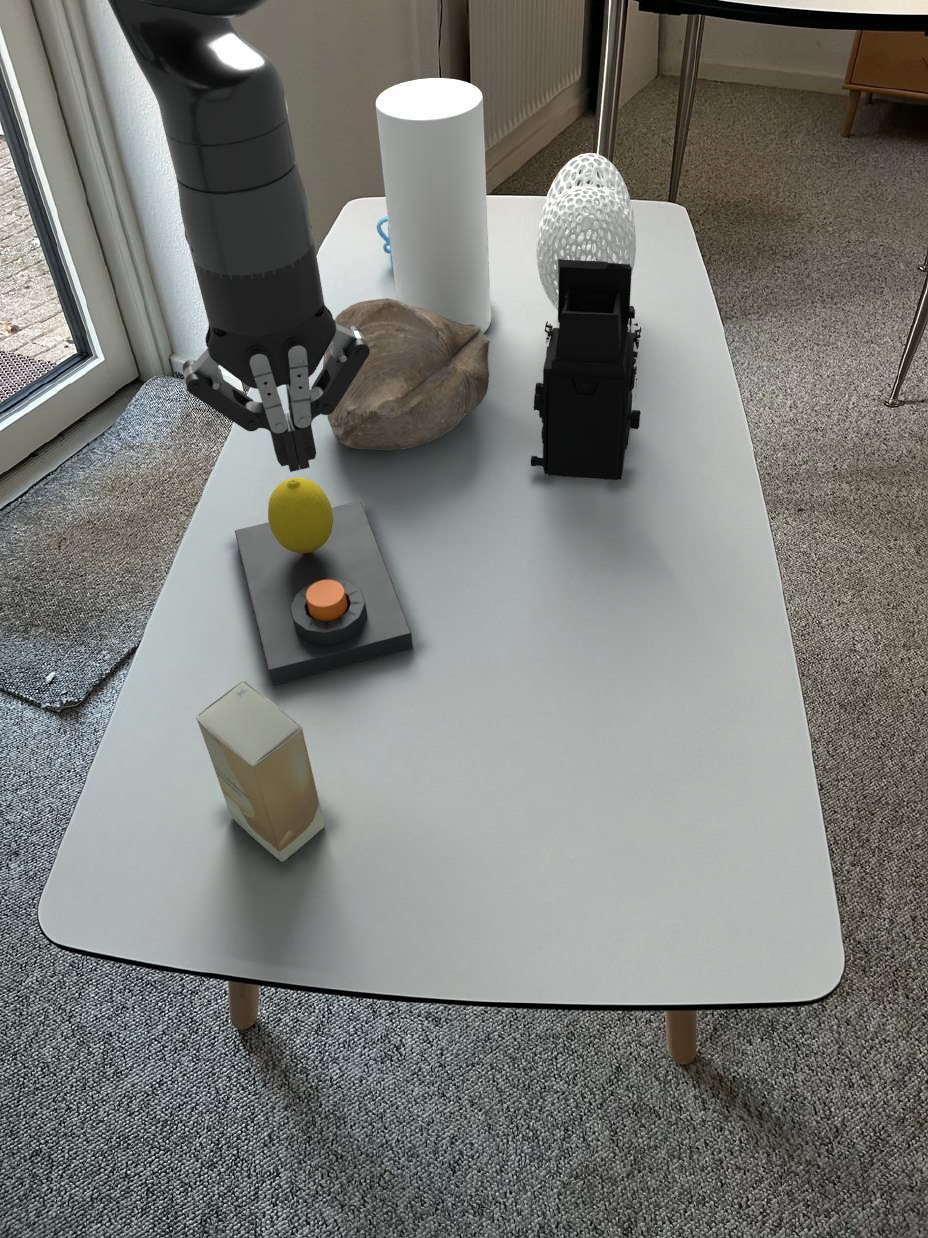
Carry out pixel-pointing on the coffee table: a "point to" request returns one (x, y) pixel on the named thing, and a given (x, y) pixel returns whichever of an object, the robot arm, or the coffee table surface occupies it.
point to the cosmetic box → (262, 769)
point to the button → (326, 600)
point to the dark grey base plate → (282, 604)
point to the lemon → (300, 515)
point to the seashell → (409, 376)
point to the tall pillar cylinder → (437, 196)
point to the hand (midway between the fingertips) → (298, 463)
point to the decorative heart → (585, 219)
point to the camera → (589, 373)
